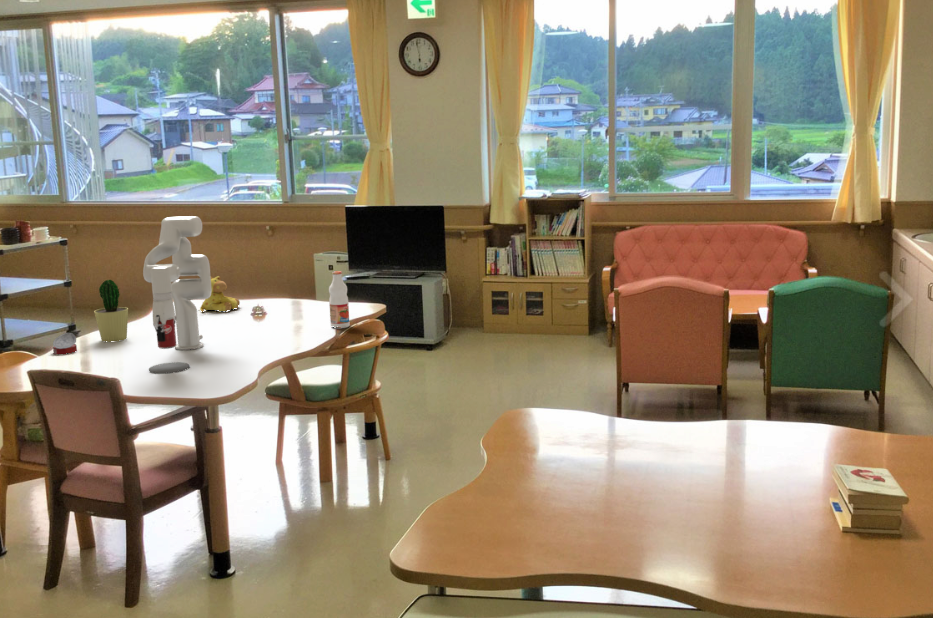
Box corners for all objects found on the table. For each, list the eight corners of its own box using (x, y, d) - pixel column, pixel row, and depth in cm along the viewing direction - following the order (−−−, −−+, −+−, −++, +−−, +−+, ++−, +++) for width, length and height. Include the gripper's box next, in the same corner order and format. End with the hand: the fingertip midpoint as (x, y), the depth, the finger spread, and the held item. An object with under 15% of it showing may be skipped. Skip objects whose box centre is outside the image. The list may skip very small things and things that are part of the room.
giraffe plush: (236, 312, 486) (233, 278, 483) (193, 314, 484) (190, 280, 480) (241, 306, 506) (239, 273, 503) (200, 308, 504) (197, 275, 500)
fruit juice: (335, 324, 441) (332, 270, 436) (352, 325, 439) (349, 270, 434) (327, 328, 432) (324, 273, 427) (345, 329, 430) (342, 273, 425)
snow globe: (78, 360, 400) (85, 342, 397) (58, 363, 391) (65, 344, 388) (65, 347, 404) (71, 329, 401) (45, 349, 396) (51, 331, 392)
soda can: (170, 349, 353) (168, 320, 351) (154, 348, 354) (151, 320, 352) (180, 345, 360) (177, 317, 358) (164, 345, 361) (161, 316, 359)
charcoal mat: (161, 363, 368) (161, 361, 368) (196, 364, 365) (196, 362, 365) (141, 373, 352) (141, 371, 352) (177, 374, 349) (177, 372, 349)
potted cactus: (123, 335, 432) (117, 275, 426) (136, 339, 421) (130, 277, 415) (92, 340, 421) (85, 279, 416) (104, 344, 410) (98, 281, 405)
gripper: (165, 293, 362) (169, 335, 365) (142, 300, 345) (146, 343, 349) (181, 293, 361) (185, 335, 364) (159, 300, 344) (164, 344, 347)
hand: (166, 339), depth 356 cm, fingers closed on soda can, 7 cm apart
